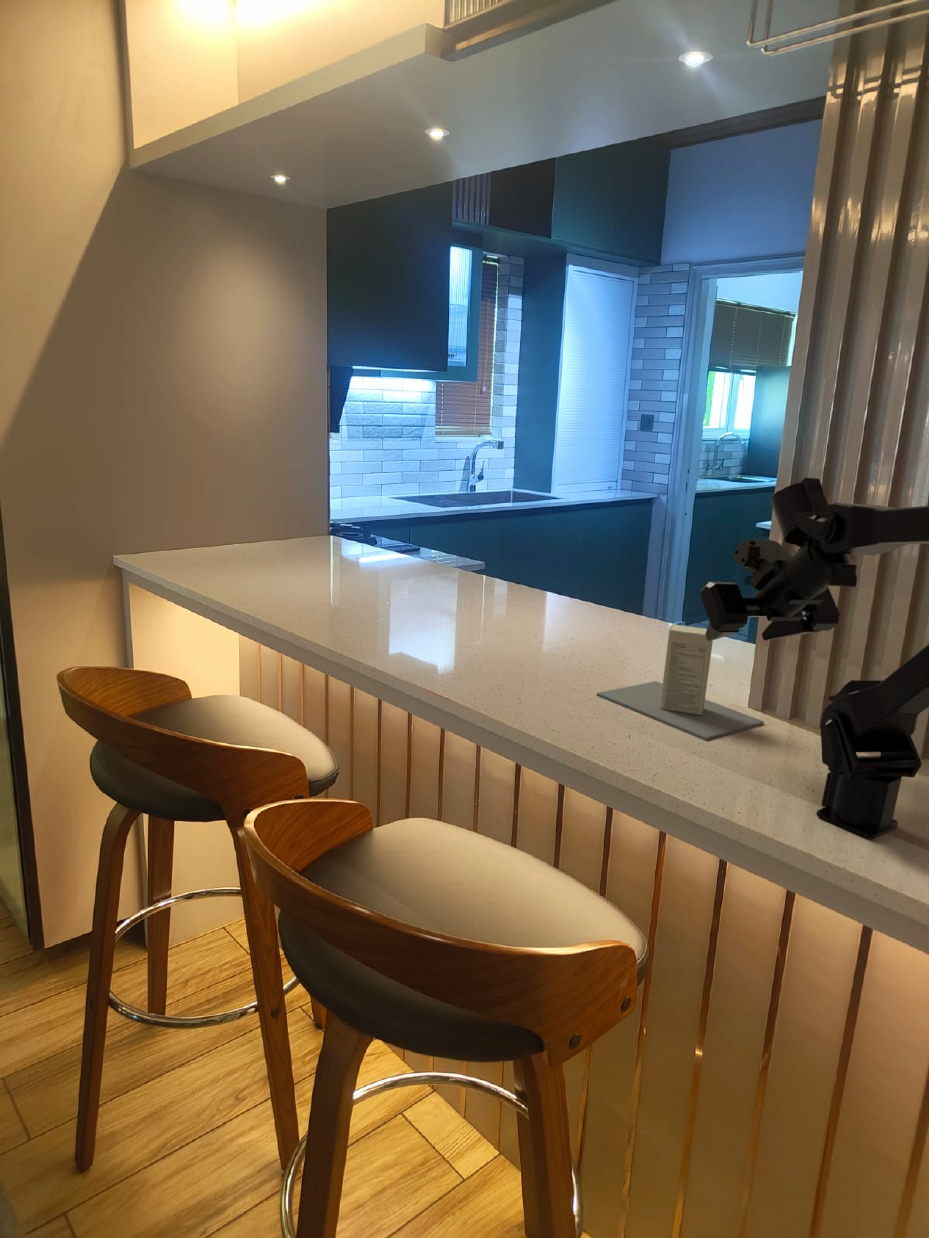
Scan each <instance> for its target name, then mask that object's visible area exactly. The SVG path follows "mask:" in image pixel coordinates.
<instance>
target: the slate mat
mask: <svg viewBox="0 0 929 1238" xmlns="http://www.w3.org/2000/svg"><path fill="white" fill-rule="evenodd" d="M662 686H663V682H660V681H656V680H655V681H649V682H645V683H641V684H635V685H630V686H625V687H620V688H615V689H609V690H605V691H600V692H597V693H596V696H597V695H598V697H600V698H602V699H604V698H605V699H604V700H607V699H608V700H607V701H610V702H612V703H614V702H615V703H614V704H617V705H619V706H621V705H623V706H622V707H624V708H627V709H629V708H630V709H629V710H631V709H632V711H633V712H636V713H638V712H640V713H639V714H641V715H643V716H646V715H647V716H646V717H648V718H650V719H654V720H655V721H658V722H661V723H662V722H663V724H665V725H668V726H669V727H672V728H675V729H678V730H680V731H682V732H685V733H687V734H689V735H691V736H694V737H697V738H699V739H701V740H704V741H708V740H711V739H714V738H718V737H721V736H722V737H723V736H726V735H729V734H732V733H735V732H740V731H743V730H746V729H750V728H754V727H757V726H760V725H764V724H765V723H764V722H765V721H764V720H762V719H759V718H756V717H753V716H751V715H748V714H746V713H742V712H741V711H737V710H735V709H733V708H730V707H726V706H725V705H721V704H718V703H716V702H713V701H711V700H708V699H705V703H704V710H703V713H702V715H696V714H690V713H684V712H677V711H671V710H665V709H660V703H661V694H662Z"/></svg>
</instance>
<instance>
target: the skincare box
mask: <svg viewBox="0 0 929 1238" xmlns="http://www.w3.org/2000/svg"><path fill="white" fill-rule="evenodd" d="M706 631H707V628H702V627H695V626H689V625H681V624H675V623H673V624H672V625H671V626H670V628H669V630H668V637H667V643H666V644H667V645H666V654H665V662H664V672H663V679H662V684H663V686H662V694H661V703H660V709H665V710H671V711H677V712H684V713H690V714H696V715H702V713H703V710H704V703H705V700H706V695H707V689H708V680H709V672H710V665H711V658H712V651H713V649H712V648H713V642H714V640H712V641H707V638H706V635H705V634H706Z"/></svg>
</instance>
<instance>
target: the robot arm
mask: <svg viewBox="0 0 929 1238" xmlns="http://www.w3.org/2000/svg"><path fill="white" fill-rule="evenodd" d="M770 502H771V506H772V509H773V512H774V515H775V518H776V521H777V523H778V526H779V529H780V532H781V534H782V538H783V540H784V542H785V543H788V544H789V545H796V546H797V547H799V548H798V549H797V550H796V551H795V552H794V553H793V554H792V555H791V554H790V553H789V552H788V551H787V550H786V548H784V546H783V545H781V543H779V542H778V541H776V540H772V539H754V538H753V539H752V538H751V539H748V540H746V539H744V540H743V541H742V542H740V543H739V544H737V546H736V547H735V549H734V551H733V552H732V557H733V560H734V561H735V562H736V563H737V565H739V567H740V568H746V569H747V570H748V571H749V573H751V575H752V576H753V577H752V578H751V579H749V584H750V585H751V588H752V589H755V593H754V597H743V595H742V592H741V590H740V587H739V585H738V584H737V583H734V582H732V581H708V582H707V584H706V585H705V586H704V587H702V589H701V590H700V592H699V596H700V597H701V601H702V604H703V606H704V609H705V612H706V616H707V617H708V621H709V622H708V624H707V628H706V629H707V631H706V634H705V635H706V638H707V641H712V640H713V641H715V640H719V639H721V638H724V637H728V636H731V635H735V634H738V633H739V632H740V631H739V630H740V629H744V627H745V626H746V625H748V619H749V618H766V620H767V621H768V622H770V624H769V625H768V626H767V627H766V628H765V629H764V630H763V632H762V633H761V637H762V639H763V641H767V642H768V641H773V640H779V639H784V638H788V637H789V638H790V637H795V636H800V635H807V634H812V633H813V634H814V633H819V632H823V631H830V630H832V629H833V628H835V627H836V626H837V625H838V624H839V621H840V617H841V614H840V611H839V609H838V607H837V604H836V602H835V600H834V598H833V595H832V592H831V591H830V586H832V587H843V588H855V587H856V586H857V583H858V576H857V569H858V568H857V567H858V566H857V564H853V562H852V559H851V557H850V555H853V556H854V555H858V556H877V555H878V556H879V555H882V554H886V553H889V552H893V551H896V550H897V549H899V547H904V546H907V545H924V544H927V545H928V544H929V505H923V506H911V507H900V508H899V507H891V506H884V505H877V504H865V503H864V504H863V503H847V502H846V503H845V502H831V503H828V501H827V499H826V495H825V493H824V489H823V485H822V483H821V480H820V478H816V477H815V478H814V477H804V478H802V480H801V481H800V482H797V483H794V484H790V485H788V486H786V487H784V488H782V489H781V490H778V491H776V492H775V493H774V494H773V495H772V497H771V500H770ZM828 700H829V701H830V702H829V703H828V704H827V705H826V706H825V708H824V710H823V712H822V716H821V720H820V739H821V740H820V742H821V744H820V745H821V762H822V763H823V765H825V766H827V770H828V771H829V772H827V775H826V778H825V784H824V788H823V789H824V790H823V794H822V799H821V803H820V804H821V806H822V807H823V808H820V809H818V810H816V816H817V817H819V818H822V819H824V820H826V821H828V822H831V823H832V824H835V825H837V826H840V827H841V828H843V829H846V830H849V831H851V832H854V833H855V834H858V835H860V836H862V837H864V838H866V839H870V840H871V839H875V838H876V837H879V836H881V835H883V834H885V833H887V832H889V831H891V830H892V829H895V828H897V827H898V826H899V821H898V820H896V819H894V816H895V815H894V814H895V810H896V805H897V801H898V797H899V791H900V787H901V785H902V784H901V783H902V779H903V777H904V778H915V777H916V775H917V773H918V771H919V770H920V769H921V766H922V760H921V758H920V756H919V753H918V750H917V747H916V746H915V743H914V740H913V738H912V735H913V734H914V733H915V731H916V729H917V723H918V717H919V715H920V714H921V713H922V712H924V711H926V709H928V708H929V643H927V645H926V646H924V647H923V648H922V649H921V650H919V651H918V652H916V653H915V654H914V655H912V656H911V658H910V659H908V660H907V661H905V662H904V663H903V664H901V666H899V667H898V668H897V669H895V670H894V672H891V674H890V675H888V676H887V677H886V678H884V680H883V679H880V680H879V679H878V680H876V679H873V680H872V679H870V680H867V679H866V680H864V679H862V680H858V679H857V680H856V679H854V680H853V679H852V680H850V681H849V682H847V683H845V684H844V686H843V687H842V688H841V689H840V691H838V692H837V693H836V694H834V695H830V696H828ZM858 753H880V755H858Z"/></svg>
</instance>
